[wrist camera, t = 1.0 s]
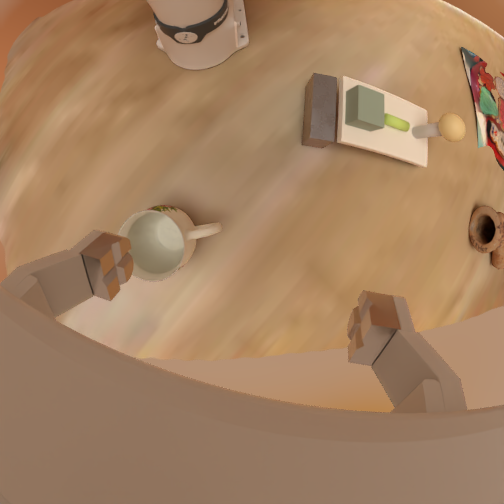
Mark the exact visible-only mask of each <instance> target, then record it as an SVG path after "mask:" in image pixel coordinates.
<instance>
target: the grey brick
mask: <svg viewBox="0 0 504 504" xmlns="http://www.w3.org/2000/svg"><path fill="white" fill-rule="evenodd" d="M336 86H337V78H336V77H332V76H327V75H322V74H317V73H313V75H312V77H311V79H310V80H309V82H308V84H307V86H306V91H305V107H304V122H303V136H302V145H305V146H312V147H318V148H324V147H326V146H328V145H329V144H331V143H333V142H334V136H335V117H336ZM394 159H396V158H394ZM398 160H399V159H398Z"/></svg>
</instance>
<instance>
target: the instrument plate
mask: <svg viewBox="0 0 504 504" xmlns="http://www.w3.org/2000/svg"><path fill="white" fill-rule="evenodd" d="M465 131H466V129H465V124H464V122H463V120H462V119H461V118H460V117H459V116H458V115H456V114H454V113H445V114H444V115H442V116H441V118H440V119H439V122H437V123H432V124H427V110H425V109H423V108H421V107H419V106H417V105H415V104H413V103H411V102H409V101H406V100H404V99H402V98H400V97H398V96H395V95H393V94H391V93H388V92H386V91H384V90H381V89H379V88H376V87H374V86H371V85H369V84H366V83H363V82H360V81H358V80H355V79H352V78H349V77H346V76H342V77H340V78H339V109H338V131H337V143H342V144H346V145H350V146H354V147H357V148H361V149H365V150H369V151H372V152H376V153H379V154H383V155H386V156H389V157H392V158H396V159H399V160H402V161H405V162H408V163H411V164H414V165H417V166H420V167H427V153H428V137H436V136H443V137H444V138H445V139H446V140H448V141H450V142H458V141H460V140H462V139H463V137H464V135H465Z"/></svg>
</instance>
